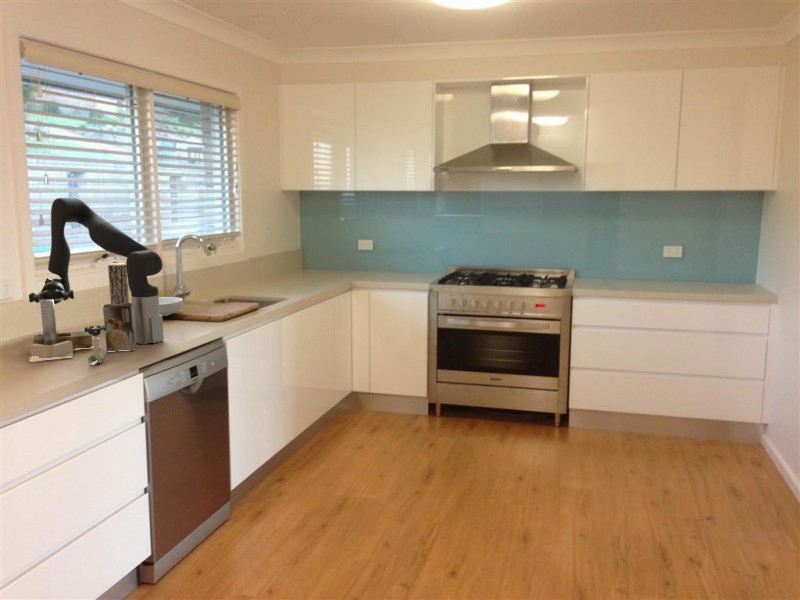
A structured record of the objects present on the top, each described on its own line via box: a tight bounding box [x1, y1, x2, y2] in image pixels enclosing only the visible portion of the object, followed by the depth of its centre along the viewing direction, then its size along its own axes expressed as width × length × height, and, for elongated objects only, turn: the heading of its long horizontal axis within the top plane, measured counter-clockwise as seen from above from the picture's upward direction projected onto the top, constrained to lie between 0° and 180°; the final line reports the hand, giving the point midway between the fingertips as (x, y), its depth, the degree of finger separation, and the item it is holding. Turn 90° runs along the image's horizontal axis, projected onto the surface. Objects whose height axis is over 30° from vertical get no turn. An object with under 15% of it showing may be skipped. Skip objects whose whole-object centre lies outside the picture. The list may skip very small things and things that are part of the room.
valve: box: [84, 324, 108, 364], centre depth 219 cm, size 7×7×12 cm
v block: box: [29, 341, 75, 358], centre depth 228 cm, size 10×13×4 cm
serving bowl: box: [159, 296, 184, 316], centre depth 296 cm, size 21×21×7 cm
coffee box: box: [102, 302, 137, 352], centre depth 236 cm, size 9×6×16 cm
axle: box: [39, 299, 58, 345], centre depth 228 cm, size 4×4×18 cm
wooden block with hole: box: [32, 330, 93, 349], centre depth 238 cm, size 18×8×5 cm, turn 114°
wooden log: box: [107, 262, 130, 304], centre depth 277 cm, size 7×7×25 cm
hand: (51, 298), depth 237 cm, fingers open, 8 cm apart
